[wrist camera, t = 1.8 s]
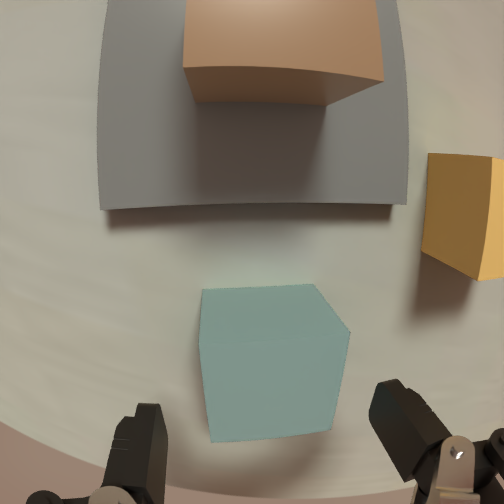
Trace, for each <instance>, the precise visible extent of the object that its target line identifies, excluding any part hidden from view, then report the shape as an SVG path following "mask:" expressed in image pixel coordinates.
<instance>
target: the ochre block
mask: <svg viewBox="0 0 504 504" xmlns="http://www.w3.org/2000/svg"><path fill="white" fill-rule="evenodd" d="M421 251H422V252H424V253H426V254H428V255H430V256H432V257H434V258H436V259H438V260H440V261H441V262H443V263H445V264H447V265H449V266H451V267H453V268H455V269H456V270H458V271H460V272H462V273H464V274H466V275H467V276H469V277H471V278H473V279H475V280H476V281H482V280H489V279H495V278H502V277H504V160H501V159H498V158H494V157H486V156H474V155H459V154H440V153H428V178H427V196H426V209H425V220H424V230H423V238H422V246H421Z"/></svg>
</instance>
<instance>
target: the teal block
mask: <svg viewBox="0 0 504 504" xmlns="http://www.w3.org/2000/svg"><path fill="white" fill-rule="evenodd" d="M349 337H350V331H349V330H348V328H347V327H346V326H345V325H344V323H343V322H342V321H341V319H340V318H339V317H338V315H337V314H336V313H335V311H334V310H333V309H332V307H331V306H330V305H329V304H328V302H327V301H326V300H325V298H324V297H323V296H322V294H321V293H320V292H319V291H318V289H317V288H316V287H315V285H314V284H303V285H286V286H266V287H245V288H220V289H203V292H202V304H201V317H200V331H199V353H200V362H201V371H202V379H203V388H204V396H205V403H206V411H207V418H208V425H209V432H210V439H211V443H214V442H236V441H250V440H262V439H272V438H280V437H288V436H296V435H303V434H309V433H315V432H321V431H327V430H331V427H332V423H333V418H334V414H335V410H336V405H337V401H338V396H339V391H340V386H341V382H342V377H343V371H344V366H345V361H346V355H347V349H348V343H349Z"/></svg>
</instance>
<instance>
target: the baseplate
mask: <svg viewBox="0 0 504 504" xmlns="http://www.w3.org/2000/svg"><path fill="white" fill-rule="evenodd" d="M408 155H409V128H408V98H407V82H406V70H405V59H404V50H403V42H402V34H401V27H400V21H399V15H398V9H397V3H396V0H108V6H107V12H106V18H105V25H104V32H103V40H102V49H101V59H100V71H99V85H98V107H97V163H98V186H99V201H100V210H110V209H124V208H140V207H158V206H178V205H202V204H234V203H370V204H401V205H406V202H407V185H408Z"/></svg>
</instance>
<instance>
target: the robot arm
mask: <svg viewBox="0 0 504 504" xmlns="http://www.w3.org/2000/svg"><path fill="white" fill-rule="evenodd" d="M369 420H370V423H371V425H372V427H373V429H374V430H375V432H376V434H377V436H378V437H379V439H380V441H381V443H382V444H383V446H384V448H385V450H386V451H387V453H388V455H389V457H390V458H391V460H392V462H393V464H394V465H395V467H396V469H397V471H398V472H399V474H400V476H401V478H402V479H403V481H404V483H405V482H407V481H410V480H412V479H415V480H416V482H417V483H416V485H415V487H414V491H413V495H412V499H411V503H410V504H504V490H503V488H502V486H501V485H500V483H499V482H498V480H497V479H496V477H495V476H496V475H497V474H498V473H499V474H500V475H501V477H502V478H503V479H504V428H500V429H497V430H495V431H494V432H493V433H492V435H491V436H490V438H489V439H488V440H483V441H477V442H471V441H470V440H469V439H467V438H465V437H463V436H452V434H451V433H450V432H449V431H448V429H447V428H446V427H445V426H444V424H443V423H442V422H441V421H440V419H439V418H438V417H437V416H436V414H435V413H434V412H432V409H431V408H430V407H429V406H428V405H426V402H425V401H424V399H423V398H422V397H421V396H420V395H419V394H418V393H416V392H415V391H413V390H412V389H410V388H407V389H406V388H405V387H404V386H403V384H402V383H401V382H400V381H399V380H398V379H392V380H388V381H384V382H380V383H378V384H377V386H376V389H375V393H374V396H373V399H372V402H371V406H370V409H369ZM167 452H168V435H167V430H166V426H165V422H164V418H163V414H162V411H161V407H160V404H149V403H138V405H137V408H136V413H135V417H128V416H125V417H124V418H123V419H122V420H121V422H120V423H119V424H118V425H117V427H116V430H115V434H114V440H113V442H112V446H111V450H110V454H109V458H108V462H107V466H106V471H105V475H104V479H103V483H102V485H101V487H100V488H99V489H97V490H95V491H94V492H93V493H92V494H91V495H90V496H88V497H85V498H75V499H61V498H60V497H59V496H58V495H56V494H55V493H53V492H50V491H46V490H42V491H37V492H35V493H33V494H32V495H30V497H29V498H28V499H27V502H26V504H164V493H165V478H166V464H167Z"/></svg>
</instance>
